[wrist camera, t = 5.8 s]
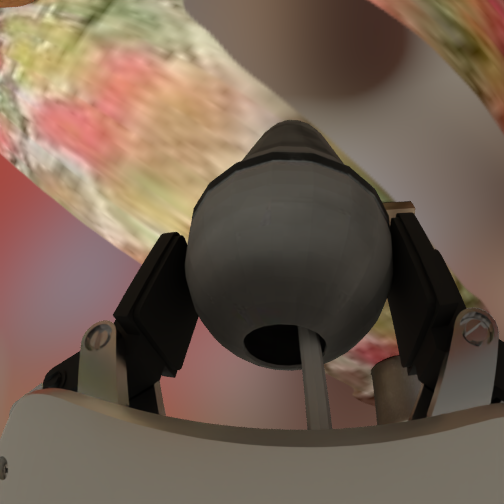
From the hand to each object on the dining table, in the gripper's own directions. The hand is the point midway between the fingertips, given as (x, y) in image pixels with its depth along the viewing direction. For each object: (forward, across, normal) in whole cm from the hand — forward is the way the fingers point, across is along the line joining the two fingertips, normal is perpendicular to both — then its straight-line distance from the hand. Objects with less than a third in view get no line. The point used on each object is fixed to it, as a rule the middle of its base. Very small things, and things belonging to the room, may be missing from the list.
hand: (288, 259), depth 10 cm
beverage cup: (+12, 0, 0) cm, 12 cm away
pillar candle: (+20, -16, +46) cm, 53 cm away
